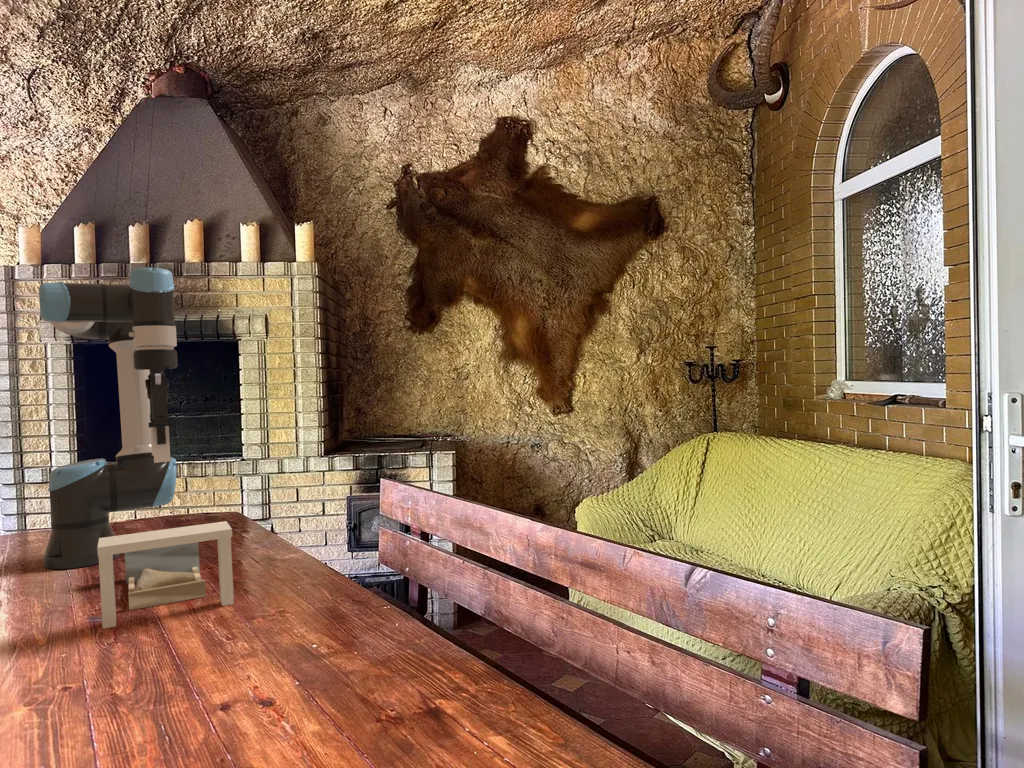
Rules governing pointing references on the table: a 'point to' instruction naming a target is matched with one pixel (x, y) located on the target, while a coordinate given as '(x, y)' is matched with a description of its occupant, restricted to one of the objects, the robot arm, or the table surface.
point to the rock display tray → (167, 561)
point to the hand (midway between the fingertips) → (160, 458)
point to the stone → (162, 579)
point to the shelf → (158, 540)
